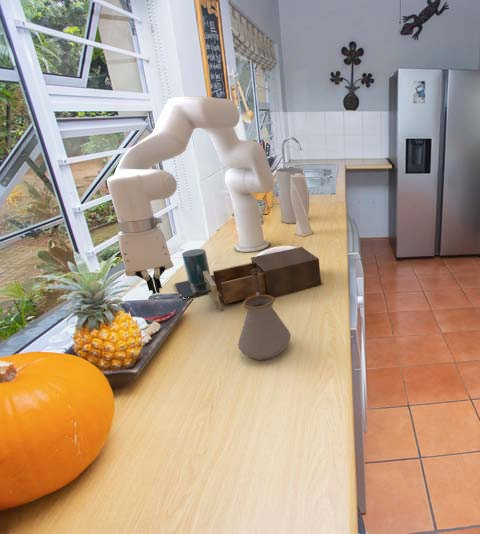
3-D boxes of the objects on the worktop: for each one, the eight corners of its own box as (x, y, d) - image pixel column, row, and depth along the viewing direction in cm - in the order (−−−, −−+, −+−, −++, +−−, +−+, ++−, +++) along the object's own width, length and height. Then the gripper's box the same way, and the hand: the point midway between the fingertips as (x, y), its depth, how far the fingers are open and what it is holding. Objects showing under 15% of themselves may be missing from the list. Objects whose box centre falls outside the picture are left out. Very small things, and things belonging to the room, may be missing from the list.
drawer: (199, 313, 104) (193, 290, 101) (191, 296, 114) (186, 274, 111) (272, 293, 115) (269, 272, 112) (259, 279, 124) (256, 259, 121)
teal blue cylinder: (188, 284, 122) (180, 251, 118) (210, 279, 126) (203, 247, 121) (192, 293, 116) (184, 259, 112) (215, 287, 120) (208, 254, 116)
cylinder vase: (284, 217, 198) (278, 168, 189) (309, 216, 199) (304, 167, 190) (280, 224, 187) (273, 171, 177) (306, 223, 188) (301, 171, 178)
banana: (311, 254, 148) (306, 269, 134) (261, 258, 147) (251, 273, 133) (309, 242, 146) (304, 256, 133) (259, 246, 145) (248, 260, 131)
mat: (175, 285, 123) (175, 283, 123) (218, 275, 130) (218, 273, 130) (181, 300, 113) (181, 298, 113) (228, 288, 120) (227, 287, 120)
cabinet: (268, 298, 114) (264, 271, 110) (255, 283, 124) (250, 257, 121) (321, 284, 123) (318, 258, 119) (304, 270, 133) (301, 246, 130)
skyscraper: (316, 233, 173) (310, 169, 162) (304, 237, 167) (297, 172, 157) (304, 230, 177) (297, 168, 166) (292, 234, 171) (284, 170, 161)
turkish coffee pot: (295, 358, 86) (286, 298, 81) (240, 370, 83) (227, 308, 77) (285, 314, 105) (278, 263, 99) (240, 322, 101) (230, 270, 95)
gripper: (170, 217, 103) (185, 280, 110) (101, 226, 95) (122, 294, 102) (174, 223, 97) (189, 289, 104) (101, 234, 89) (123, 304, 96)
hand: (156, 291), depth 103 cm, fingers closed
